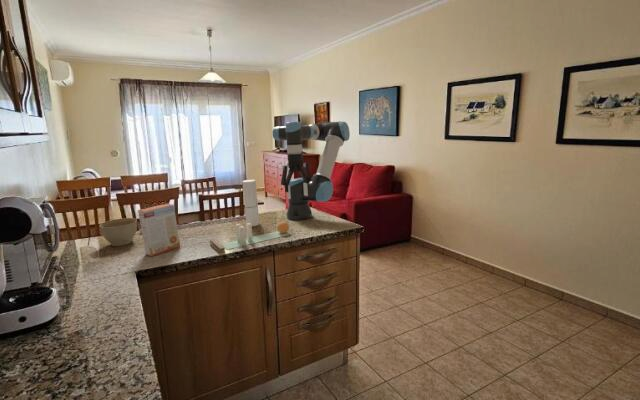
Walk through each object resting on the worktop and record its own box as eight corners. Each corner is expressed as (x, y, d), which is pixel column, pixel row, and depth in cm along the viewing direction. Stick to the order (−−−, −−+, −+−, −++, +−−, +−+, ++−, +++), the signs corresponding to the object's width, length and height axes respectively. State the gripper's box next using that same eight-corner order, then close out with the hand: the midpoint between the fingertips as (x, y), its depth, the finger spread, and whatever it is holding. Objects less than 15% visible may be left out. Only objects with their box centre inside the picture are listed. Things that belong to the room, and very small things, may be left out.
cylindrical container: (260, 222, 197) (257, 179, 191) (257, 226, 190) (253, 181, 185) (248, 222, 198) (244, 179, 192) (244, 226, 191) (240, 182, 185)
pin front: (251, 239, 168) (250, 223, 166) (253, 241, 166) (252, 224, 164) (247, 240, 167) (245, 224, 165) (248, 242, 165) (247, 225, 163)
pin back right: (241, 240, 168) (239, 223, 166) (243, 241, 166) (241, 224, 164) (236, 241, 166) (234, 224, 164) (238, 242, 164) (236, 225, 162)
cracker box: (174, 245, 165) (168, 202, 161) (180, 247, 162) (174, 204, 157) (144, 254, 155) (137, 209, 150) (151, 257, 151) (143, 211, 147)
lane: (284, 230, 181) (284, 229, 181) (292, 234, 173) (292, 233, 173) (220, 244, 163) (220, 244, 163) (227, 249, 156) (227, 249, 156)
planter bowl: (98, 250, 162) (94, 228, 160) (109, 240, 177) (105, 220, 175) (136, 246, 166) (132, 224, 164) (143, 236, 181) (139, 216, 179)
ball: (285, 230, 180) (285, 219, 178) (291, 233, 175) (290, 222, 173) (275, 233, 177) (274, 221, 175) (280, 235, 172) (280, 224, 170)
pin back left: (245, 243, 163) (243, 225, 162) (247, 244, 162) (245, 227, 160) (240, 244, 162) (238, 226, 160) (242, 245, 160) (240, 228, 158)
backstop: (214, 243, 165) (214, 238, 164) (225, 252, 152) (224, 247, 151) (210, 244, 164) (209, 239, 163) (220, 254, 151) (220, 248, 150)
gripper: (309, 151, 181) (311, 192, 186) (271, 154, 169) (274, 199, 174) (317, 151, 175) (319, 194, 179) (278, 155, 163) (281, 201, 168)
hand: (297, 196), depth 177 cm, fingers open, 9 cm apart
